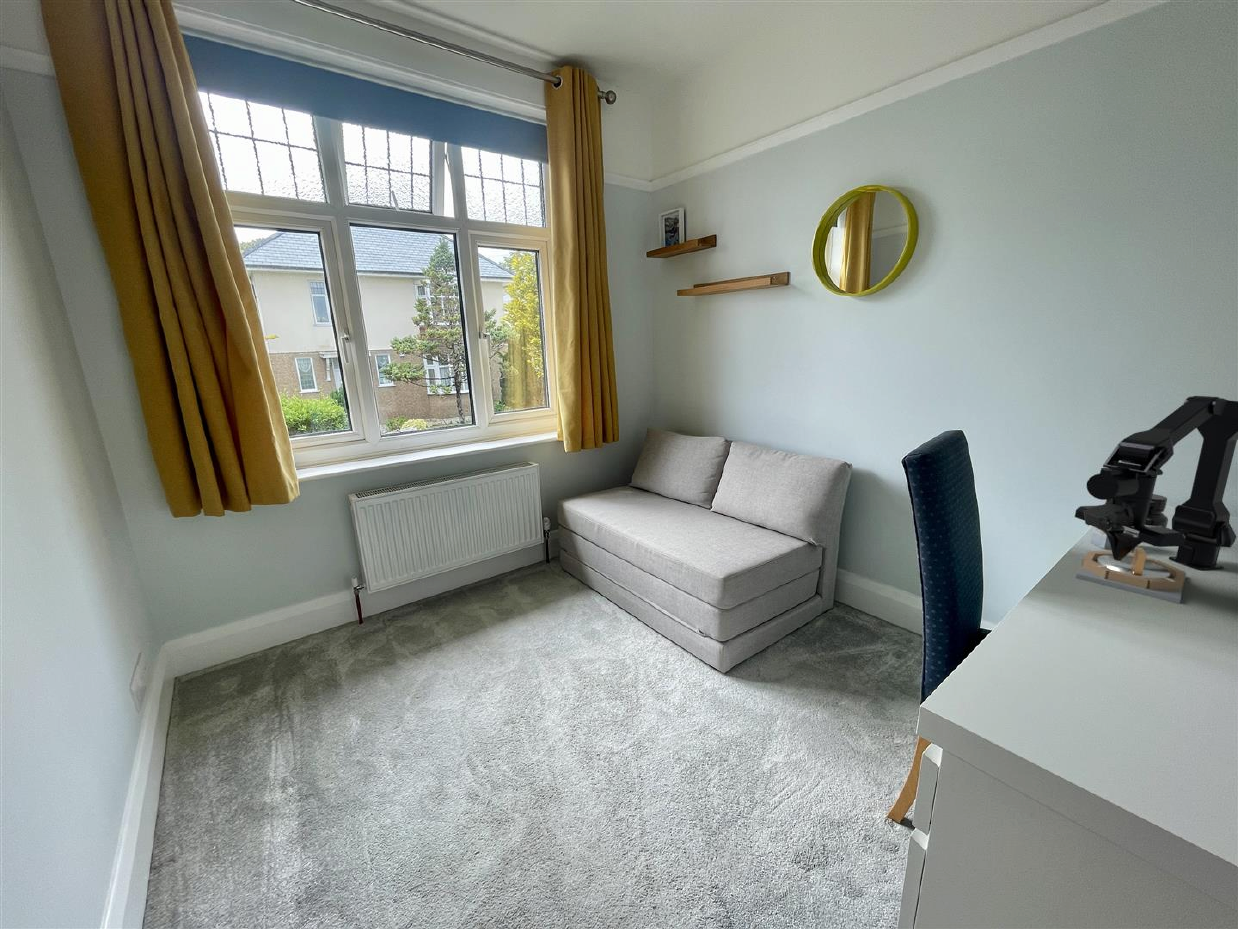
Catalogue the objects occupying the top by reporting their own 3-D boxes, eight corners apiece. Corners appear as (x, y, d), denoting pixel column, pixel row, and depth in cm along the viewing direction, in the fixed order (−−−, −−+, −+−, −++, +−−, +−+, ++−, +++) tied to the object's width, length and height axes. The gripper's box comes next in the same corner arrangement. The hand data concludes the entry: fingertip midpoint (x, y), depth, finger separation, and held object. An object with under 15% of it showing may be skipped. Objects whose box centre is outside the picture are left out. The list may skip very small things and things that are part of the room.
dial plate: (1089, 556, 124) (1092, 544, 124) (1184, 576, 112) (1187, 564, 111) (1076, 577, 113) (1078, 565, 113) (1179, 603, 101) (1182, 589, 100)
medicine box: (1121, 543, 131) (1128, 512, 130) (1136, 550, 127) (1144, 518, 125) (1089, 543, 132) (1095, 512, 130) (1103, 549, 128) (1110, 518, 126)
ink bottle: (1108, 534, 138) (1117, 493, 135) (1123, 529, 141) (1132, 489, 138) (1156, 546, 129) (1166, 503, 126) (1171, 540, 132) (1181, 498, 130)
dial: (1093, 557, 120) (1098, 532, 119) (1162, 569, 113) (1168, 542, 112) (1099, 575, 111) (1105, 547, 110) (1174, 589, 104) (1182, 560, 103)
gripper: (1058, 484, 116) (1046, 545, 120) (1143, 510, 98) (1125, 580, 102) (1104, 482, 117) (1090, 543, 120) (1196, 508, 98) (1177, 578, 102)
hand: (1117, 560), depth 111 cm, fingers closed
